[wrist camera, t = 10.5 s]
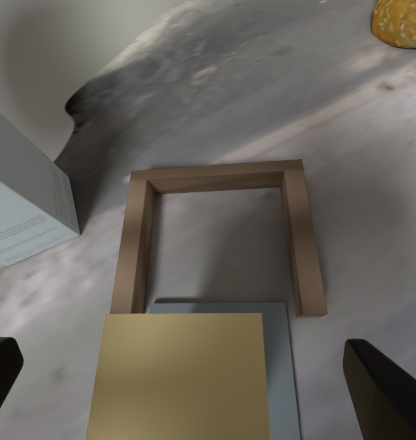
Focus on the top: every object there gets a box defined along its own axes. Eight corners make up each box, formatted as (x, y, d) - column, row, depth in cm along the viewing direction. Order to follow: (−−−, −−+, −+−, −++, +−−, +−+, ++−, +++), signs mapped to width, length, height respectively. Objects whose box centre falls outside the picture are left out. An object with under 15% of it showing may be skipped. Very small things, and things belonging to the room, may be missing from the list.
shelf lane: (318, 317, 20) (327, 313, 17) (124, 318, 21) (109, 314, 19) (296, 176, 25) (301, 159, 22) (141, 186, 26) (131, 170, 24)
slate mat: (303, 480, 16) (305, 484, 15) (138, 469, 17) (135, 474, 17) (284, 303, 20) (285, 302, 20) (153, 304, 21) (150, 303, 21)
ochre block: (257, 419, 17) (278, 544, 6) (178, 416, 18) (72, 525, 7) (252, 332, 19) (261, 313, 8) (182, 332, 20) (105, 313, 9)
